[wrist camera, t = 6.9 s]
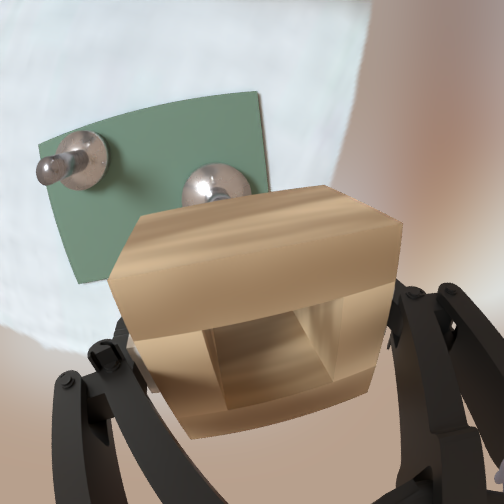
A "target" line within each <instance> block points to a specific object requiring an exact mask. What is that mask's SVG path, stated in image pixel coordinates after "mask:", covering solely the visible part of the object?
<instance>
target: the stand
mask: <svg viewBox="0 0 504 504" xmlns="http://www.w3.org/2000/svg"><path fill="white" fill-rule="evenodd" d="M110 162H111V152H110V147H109V145H108V143H107V141H106V140H105V138H104V137H103V136H102V135H100V134H99V133H97V132H95V131H90V130H82V131H76V132H73V133H71V134H69V135H67V136H66V137H65V138H64V139H63V140H62V141H61V143H60V144H59V146H58V148H57V150H56V153H55V155H52V156H47V157H44V158H42V159H41V160H40V161H39V163H38V165H37V168H36V175H37V179H38V181H39V182H40V183H41V184H43V185H45V186H49V185H51V184H54V183H56V182H58V181H60V182H61V183H62V184H63V185H64V186H66V187H67V188H69V189H71V190H76V191H81V190H86V189H88V188H90V187H92V186H94V185H95V184H97V183H98V182H100V181H101V180H102V179H103V178H104V176H105V175H106V173H107V171H108V169H109V166H110Z"/></svg>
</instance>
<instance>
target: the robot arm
mask: <svg viewBox="0 0 504 504" xmlns="http://www.w3.org/2000/svg"><path fill="white" fill-rule="evenodd" d="M453 321H454V322H455V324H456V328H455V330H454V329H453V328H452V324H453ZM387 326H388V327H389V328H390V329H391V334H390V338H389V342H388V345H387V349H389V348H390V345H391V346H392V353H393V359H394V367H395V375H396V383H397V392H398V402H399V415H400V431H401V432H400V433H401V466H400V469H399V472H398V475H397V480H396V489H394V490H392V491H390V492H388V493H386V494H385V495H383V496H382V497H381V498H379V499H378V500H376V501H375V502H373V503H372V504H504V338H503V337H502V336H501V335H500V333H499V332H498V331H497V330H496V329H495V327H494V326H493V325H492V323H491V322H490V321H489V320H488V319H487V317H486V316H485V315H484V314H483V313H482V312H481V310H480V309H479V308H478V307H477V306H476V305H475V304H474V302H473V301H472V300H471V299H470V298H469V297H468V296H467V295H466V294H465V292H463V290H462V289H461V288H460V287H458V286H457V285H455V284H453V283H443V284H441V285H440V286H439V288H438V292H437V293H431V294H426V293H425V292H424V291H423V290H422V289H420V288H418V287H412V286H409V287H406V286H404V285H403V284H402V283H401V282H400V281H398V280H397V279H396V281H395V286H394V292H393V297H392V302H391V307H390V312H389V316H388V321H387V325H386V328H387ZM385 332H386V329H385ZM384 335H385V333H384ZM88 359H89V361H90V362H91V364H92V365H93V367H94V368H95V370H96V372H94V373H92V374H89V375H86V376H83V377H81V375H80V374H79V373H78V372H77V371H73V370H70V371H66V372H64V373H62V374H61V375H60V376H59V377H58V378H57V380H56V382H55V387H54V398H53V412H52V413H53V414H52V469H53V482H54V492H55V500H56V504H128V502H127V498H126V494H125V491H124V487H123V483H122V479H121V474H120V470H119V465H118V460H117V455H116V450H115V444H114V438H113V431H112V424H111V418H113V417H115V419H116V421H117V423H118V425H119V428H120V429H121V432H122V434H123V436H124V438H125V440H126V442H127V444H128V446H129V448H130V450H131V452H132V454H133V456H134V457H135V459H136V461H137V463H138V465H139V466H140V468H141V470H142V471H143V473H144V475H145V477H146V478H147V480H148V482H149V483H150V485H151V487H152V488H153V490H154V491H155V493H156V494H157V496H158V497H159V499H160V500H161V502H162V503H163V504H228V503H227V502H226V501H225V500H224V498H223V497H222V496H221V495H220V494H219V493H218V492H217V491H216V490H215V488H214V487H213V486H212V485H211V484H210V483H209V481H208V480H207V479H206V478H205V477H204V476H203V474H202V473H201V472H200V471H199V469H198V468H197V467H196V466H195V464H194V463H193V462H192V460H191V459H190V458H189V457H188V455H187V454H186V452H185V451H184V450H183V448H182V447H181V446H180V444H179V443H178V441H177V440H176V439H175V437H174V436H173V434H172V433H171V431H170V430H169V428H168V427H167V426H166V424H165V423H164V421H163V419H162V418H161V416H160V415H159V413H158V412H157V410H156V409H155V407H154V405H153V403H152V402H151V400H150V399H149V397H148V395H147V386H148V388H149V389H150V391H151V393H159V392H160V391H159V389H158V387H157V385H156V384H155V382H154V380H153V378H152V377H151V375H150V373H149V371H148V369H147V367H146V365H145V364H144V362H143V360H142V358H141V356H140V354H139V352H138V350H137V348H136V346H135V344H134V342H133V340H132V338H131V336H130V333H129V331H128V329H127V327H126V325H125V323H124V320H123V318H122V317H121V318H120V319H119V321H118V322H117V325H116V328H115V332H114V337H113V339H112V340H111V339H104V340H101V341H98V342H97V343H95V344H93V346H92V347H91V348H90V349H89V351H88ZM461 395H462V397H463V399H464V401H465V403H466V405H467V407H468V409H469V411H470V413H471V415H472V417H473V420H474V422H475V424H476V426H477V428H478V429H477V428H476V427H470V426H469V425H468V424H467V420H466V415H465V411H464V406H463V402H462V397H461ZM479 433H480V434H479ZM480 435H481V437H482V440H483V442H484V444H485V447H486V449H487V451H488V453H489V455H490V457H491V458H492V460H493V462H494V463H495V465H496V466H497V467H498V468H499V471H498V472H497V473H496V475H495V478H494V479H495V482H496V483H497V484H501V483H503V492H498V491H491V490H487V489H486V476H485V465H484V457H483V450H482V444H481V438H480Z"/></svg>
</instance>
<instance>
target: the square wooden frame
mask: <svg viewBox="0 0 504 504" xmlns="http://www.w3.org/2000/svg"><path fill="white" fill-rule="evenodd" d="M402 228H403V223H402V222H399V221H398V220H396V219H394V218H392V217H390V216H388V215H386V214H384V213H382V212H380V211H378V210H376V209H374V208H372V207H370V206H368V205H366V204H364V203H362V202H360V201H358V200H356V199H354V198H351V197H350V196H347V195H345V194H343V193H341V192H339V191H337V190H334V189H332V188H330V187H328V186H326V185H320V186H312V187H304V188H296V189H289V190H282V191H275V192H268V193H261V194H255V195H248V196H242V197H236V198H230V199H225V200H219V201H213V202H208V203H202V204H197V205H192V206H187V207H181V208H176V209H172V210H167V211H162V212H157V213H152V214H148V215H143V216H140V218H139V220H138V222H137V223H136V225H135V227H134V229H133V231H132V233H131V234H130V236H129V238H128V240H127V242H126V244H125V246H124V248H123V250H122V252H121V253H120V255H119V257H118V259H117V261H116V263H115V266H114V268H113V270H112V272H111V274H110V276H109V278H108V280H107V282H108V284H109V287H110V289H111V292H112V294H113V297H114V299H115V302H116V304H117V306H118V309H119V311H120V313H121V316H122V318H123V320H124V323H125V325H126V327H127V329H128V331H129V333H130V336H131V338H132V340H133V342H134V344H135V346H136V348H137V350H138V352H139V354H140V356H141V358H142V360H143V362H144V364H145V365H146V367H147V369H148V371H149V373H150V375H151V377H152V378H153V380H154V382H155V384H156V385H157V387H158V389H159V391H160V392H161V394H162V396H163V397H164V399H165V401H166V402H167V404H168V405H169V407H170V409H171V410H172V412H173V414H174V415H175V417H176V418H177V420H178V421H179V423H180V425H181V426H182V427H183V429H184V430H185V432H186V433H187V435H188V436H189V438H190V439H199V438H206V437H212V436H219V435H225V434H231V433H236V432H241V431H246V430H250V429H255V428H259V427H264V426H268V425H272V424H276V423H280V422H283V421H287V420H291V419H294V418H297V417H301V416H304V415H307V414H310V413H314V412H317V411H320V410H322V409H325V408H328V407H331V406H334V405H337V404H339V403H342V402H345V401H347V400H350V399H352V398H355V397H357V396H359V395H362V394H364V393H367V392H368V389H369V386H370V382H371V380H372V376H373V373H374V370H375V367H376V363H377V360H378V356H379V353H380V349H381V345H382V341H383V337H384V333H385V329H386V325H387V321H388V316H389V312H390V307H391V302H392V297H393V292H394V286H395V281H396V274H397V267H398V261H399V254H400V246H401V238H402Z"/></svg>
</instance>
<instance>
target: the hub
mask: <svg viewBox="0 0 504 504" xmlns="http://www.w3.org/2000/svg"><path fill="white" fill-rule="evenodd" d="M248 195H252V194H251V188H250V185H249V183H248V181H247V179H246V178H245V177H244V176H243V174H242V173H240V172H239V171H238V170H237V169H235V168H234V167H232V166H230V165H228V164H225V163H219V162H214V163H208V164H204V165H202V166H200V167H198V168H197V169H195V170H194V171H193V172H192V173H191V174H190V175H189V176H188V178H187V180H186V181H185V184H184V187H183V191H182V207H187V206H192V205H197V204H202V203H208V202H213V201H219V200H225V199H230V198H236V197H242V196H248Z"/></svg>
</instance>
